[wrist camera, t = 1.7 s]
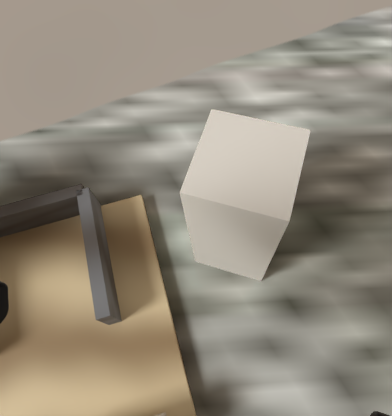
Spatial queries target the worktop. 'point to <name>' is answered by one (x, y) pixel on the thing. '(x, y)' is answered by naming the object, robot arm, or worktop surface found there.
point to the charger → (242, 191)
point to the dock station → (86, 312)
